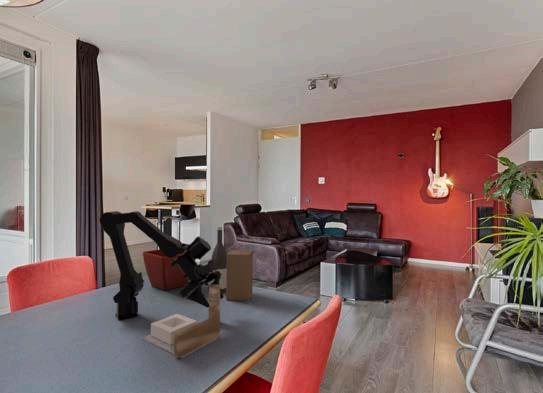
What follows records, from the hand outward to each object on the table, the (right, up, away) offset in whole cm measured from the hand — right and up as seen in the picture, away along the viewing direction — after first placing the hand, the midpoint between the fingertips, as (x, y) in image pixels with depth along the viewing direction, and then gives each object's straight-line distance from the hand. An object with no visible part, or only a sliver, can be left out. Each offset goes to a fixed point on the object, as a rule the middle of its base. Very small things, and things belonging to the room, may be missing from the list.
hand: (216, 302), depth 107 cm
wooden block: (+5, -7, +27) cm, 29 cm away
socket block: (-12, -7, -10) cm, 17 cm away
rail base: (-9, -7, -12) cm, 17 cm away
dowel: (-1, -7, 0) cm, 7 cm away
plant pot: (-31, -7, +43) cm, 53 cm away
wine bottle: (-5, -7, +37) cm, 38 cm away
